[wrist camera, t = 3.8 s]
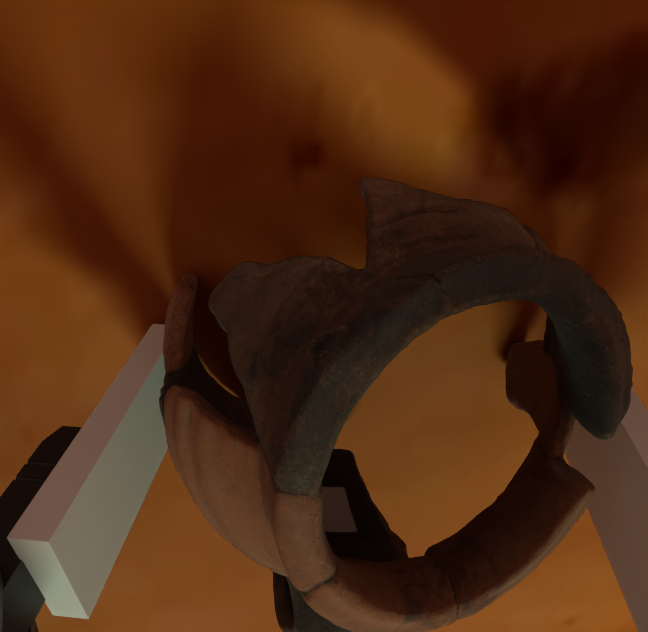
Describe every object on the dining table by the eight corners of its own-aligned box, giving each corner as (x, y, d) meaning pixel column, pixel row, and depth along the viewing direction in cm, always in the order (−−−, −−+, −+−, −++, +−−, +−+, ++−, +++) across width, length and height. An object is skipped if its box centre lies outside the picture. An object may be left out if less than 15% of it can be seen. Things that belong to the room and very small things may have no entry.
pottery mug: (135, 155, 12) (178, 182, 5) (451, 171, 15) (747, 201, 8) (159, 544, 16) (203, 885, 9) (407, 484, 19) (583, 687, 12)
